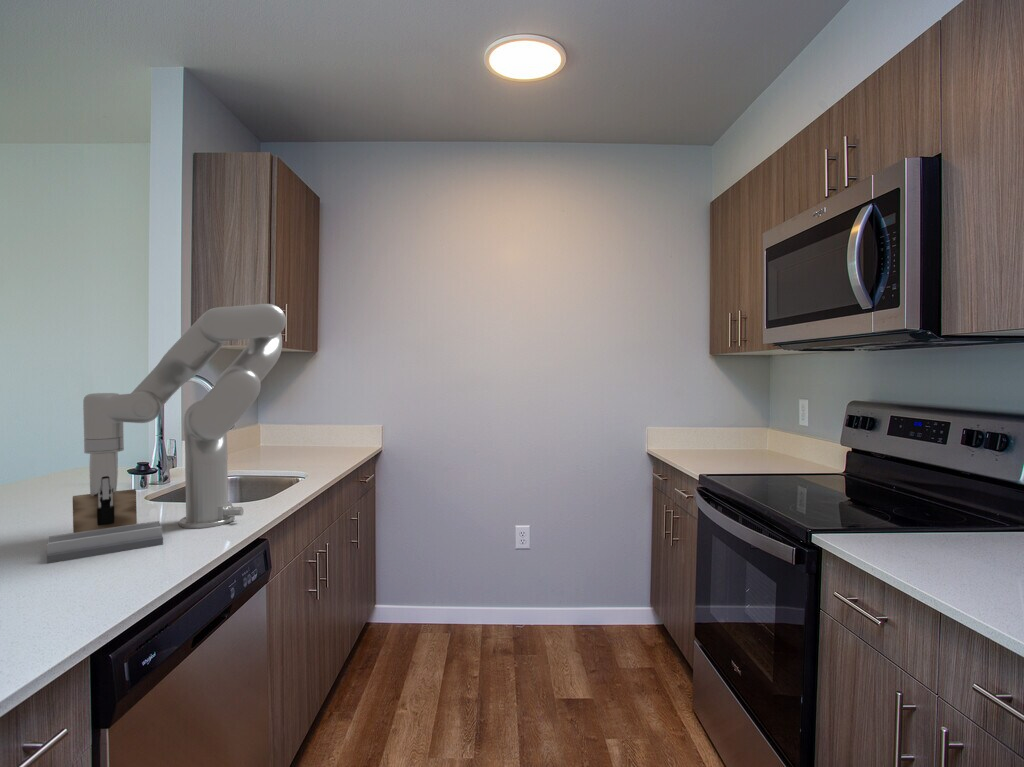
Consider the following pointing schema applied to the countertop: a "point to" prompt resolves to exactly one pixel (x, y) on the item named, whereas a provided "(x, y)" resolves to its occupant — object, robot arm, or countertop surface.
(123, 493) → the door panel
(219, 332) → the robot arm
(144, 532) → the bottom track
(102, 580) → the countertop surface
